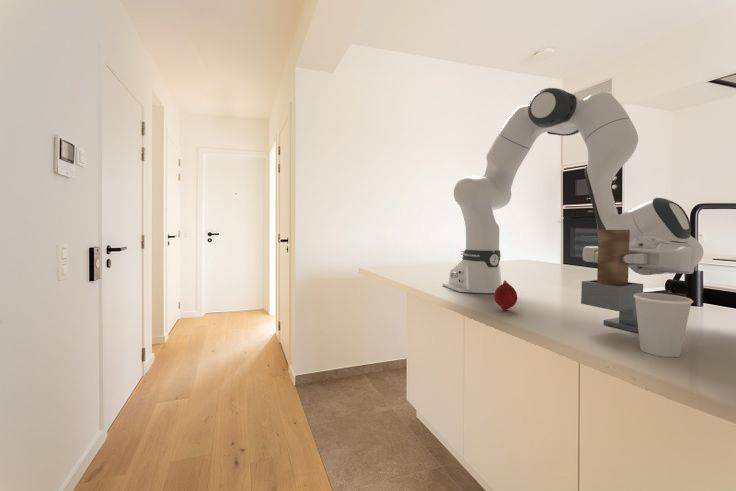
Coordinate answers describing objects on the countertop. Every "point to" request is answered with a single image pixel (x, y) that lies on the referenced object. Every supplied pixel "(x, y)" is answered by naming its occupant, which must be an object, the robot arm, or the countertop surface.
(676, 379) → the countertop surface
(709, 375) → the countertop surface
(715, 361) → the countertop surface
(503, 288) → the onion
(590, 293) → the box
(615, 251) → the rail post
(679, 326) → the dixie cup
